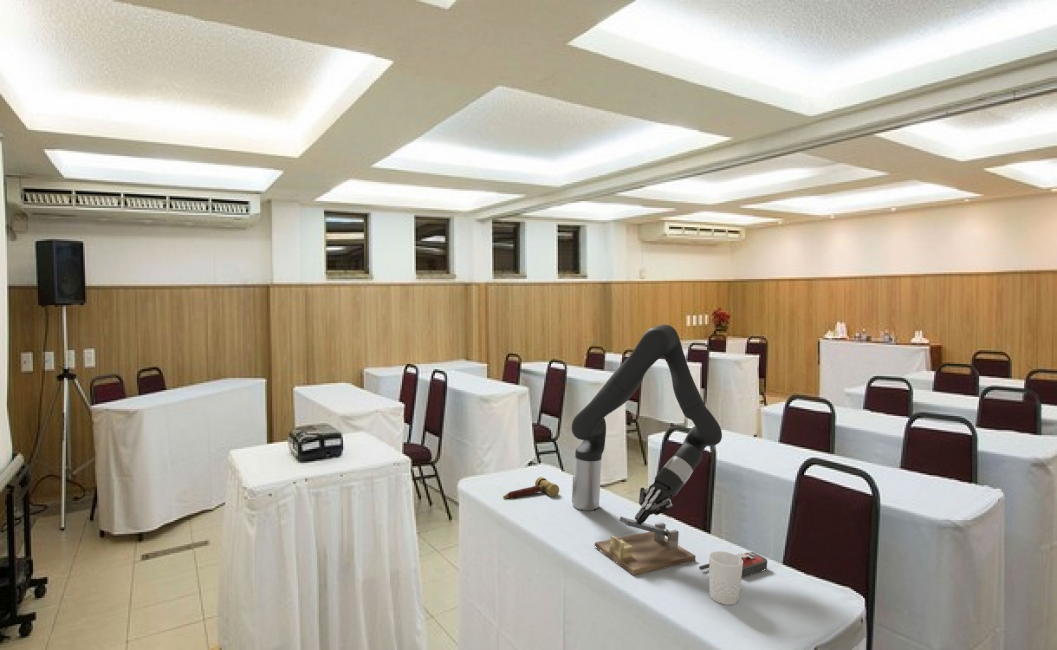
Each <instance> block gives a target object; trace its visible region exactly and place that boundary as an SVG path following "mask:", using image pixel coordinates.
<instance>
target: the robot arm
mask: <svg viewBox="0 0 1057 650" xmlns="http://www.w3.org/2000/svg"><path fill="white" fill-rule="evenodd" d="M662 357H663V358H664V360H665V362H666V364H667V366H668V369H669V372H670V377H671V381H672V382H671V383H672V389H673V393H674V395H675V399H676V402H677V403H678V405H679V407H680V409H681V411H682V413H683V416H684V417H685V418H686V419H688V420H691V422H692V423H693V425H694V426H692V427H691V428H690V430H689V431H688V433H687V434H686V436H685V438H684V440H683V442H682V445H681V446H680V447H679V448H678V449H677V450H676V452H675V453H674V454H673V456H672V457H670V458H669V459H668V461H667V462H666V463H665V464H664V466H662V468H661V470H660V471H659V472H658V473H657V474H656V475H655V477H654V481H653V483H652V484H651V485H649V487H648V488H644V487H641V488H640V489H639V496H638V497H639V499H638V504H639V506H640V509H639V510H638V512H637V513H636V515H634V520H635V521H637V522H639V523H640V524H642V523H645V522H646V521H647V519H648V518H649V517H650V516H651V515H655V516H658V515H661V514H663V513H665V512H667V511H670V510H672V509H673V508H674V504H672V501H671V500H672V499H673V497H675V496H677V495H678V493H679V492H680V490H681V489H682V488H683V487H684V485H685V484H686V483H687V481H689V479H690V477H691V475H692V473H694V471H695V469H696V468H697V467H698V466H699V464H700V462H701V461H702V459H703V455H702V454H703V452H704V450H705V448H707V447H714V446H717V445H718V444H720V442H722V438H723V432H722V428H721V426H720V424H719V422H718V421H717V419H716V418H715V416H714V415H713V413H711V412H710V409H708V408H707V406H706V405H705V402H704V400H703V398H702V396H701V394H700V391H699V390H698V389H699V388H697V385H696V383H695V380H694V378H693V375H692V373H691V370H690V368H689V365H688V362H687V359H686V356H685V354H684V350H683V346H682V343H681V339H680V336H679V334H678V332H677V330H676V329H675V328H674V327H673V326H671V325H669V324H660V325H657V326H654V327H651V328H649V329H647V330H646V331H645V332H644V334H643V335H642V337H641V338H640V340H639V341H638V343H637V344H636V346H635V348H634V349H633V350H632V351H631V353H630V355H628V357H627V358H625V360H624V361H623V362H622V363H621V365H620V366H619V367H617V369H616V370H615V371H614V372H613V373H612V375H611V376H610V377H609V378H608V380H607V381H606V382H605V384H604V385H603V386H602V387H601V388H600V390H599V391H598V392H597V393H596V395H595V396H594V397H593V399H592V400H591V401H590V402H589V403H588V404H587V405H585V407H584V408H582V410H581V411H579V413H577V414H576V415H575V417H574V418H573V420H572V423H571V432H572V435H573V436H574V437H575V438H576V439H577V440H581V441H582V442H581V443H580V444H579V446H577V448H576V449H575V453H574V455H575V456H574V474H573V475H574V476H572V490H571V491H572V492H571V494H572V495H571V503H572V506H573V507H574V508H575V509H578V510H581V509H582V510H581V511H595V510H594V509H596V510H598V509H599V508H600V497H601V477H602V475H601V473H602V456H603V453H604V450H605V445H606V437H607V436H606V434H607V423H606V419H605V417H607V416H608V415H610V414H611V413H613V412H615V410H617V409H619V408H620V407H622V406H623V405H624V404H625V403H627V402H628V401H629V400H630V399H631V398H632V396H633V395H634V394H635V393H636V391H637V390H639V388H640V385H642V382H643V380H644V377H645V375H646V373H647V372H648V370H649V369H650V368H651V367H652V366H653V365H654V364H656V362H657V361H658V360H659V359H660V358H662ZM598 507H599V508H598ZM597 508H598V509H597Z"/></svg>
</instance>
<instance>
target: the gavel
mask: <svg viewBox="0 0 1057 650" xmlns="http://www.w3.org/2000/svg"><path fill="white" fill-rule="evenodd" d="M540 492H545V493H546V494H547V495H548V496H550V497H556V496H558V495H559V492H560V487H559V485H558V484H555V483H554V482H551V481H549V480H548V479H547V478H545V477H543V476H540V477H538V478H536V480H535V481H534V485H533V486H530V487H526V488H525V487H524V488H521V489H517V490H512V491H509V492H507V493H506V494H505V495H503V496H502V497H503V499H507V500H508V499H515V498H516V499H517V498H521V497H526V496H530V495H533V494H538V493H540ZM555 495H556V496H555Z"/></svg>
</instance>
